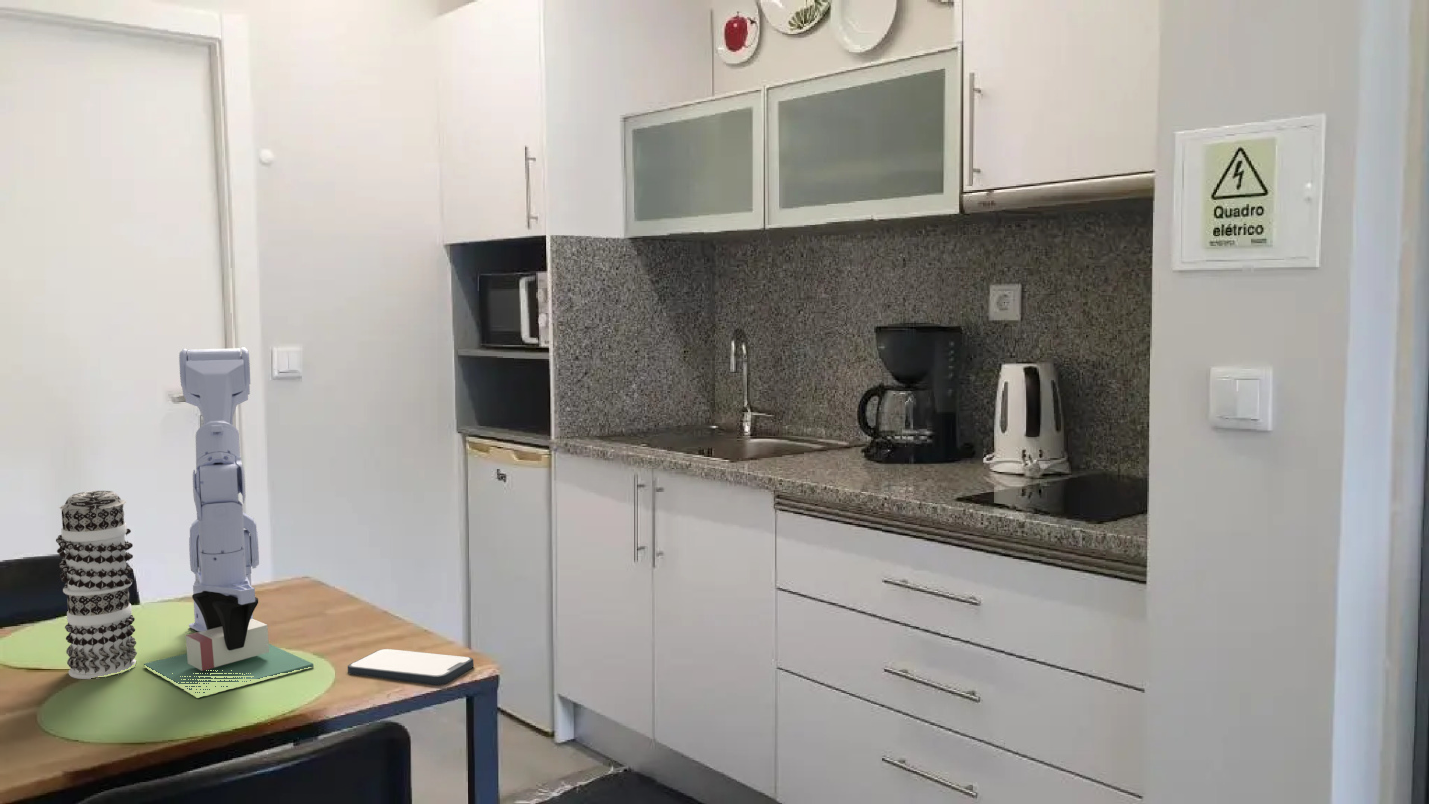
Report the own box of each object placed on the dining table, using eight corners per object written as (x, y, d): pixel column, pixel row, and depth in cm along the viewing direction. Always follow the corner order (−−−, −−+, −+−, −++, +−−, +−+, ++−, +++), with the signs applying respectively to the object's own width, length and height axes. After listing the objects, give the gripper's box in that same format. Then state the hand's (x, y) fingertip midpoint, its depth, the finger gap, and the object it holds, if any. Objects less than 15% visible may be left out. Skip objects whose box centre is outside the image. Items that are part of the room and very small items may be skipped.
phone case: (343, 677, 154) (442, 689, 149) (342, 666, 154) (441, 677, 149) (383, 658, 163) (477, 668, 157) (382, 647, 162) (477, 656, 157)
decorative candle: (65, 664, 158) (53, 491, 156) (138, 654, 163) (128, 485, 160) (64, 684, 150) (52, 502, 148) (141, 672, 155) (130, 495, 152)
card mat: (143, 667, 157) (143, 663, 157) (254, 641, 169) (254, 637, 168) (198, 699, 145) (197, 694, 145) (313, 667, 156) (313, 663, 156)
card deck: (254, 645, 162) (252, 618, 161) (269, 652, 158) (267, 624, 158) (187, 663, 155) (185, 635, 154) (202, 671, 152) (199, 642, 151)
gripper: (171, 546, 157) (176, 640, 158) (216, 563, 147) (221, 662, 148) (221, 538, 162) (226, 629, 163) (268, 553, 152) (272, 650, 154)
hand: (227, 644), depth 156 cm, fingers closed on card deck, 5 cm apart
